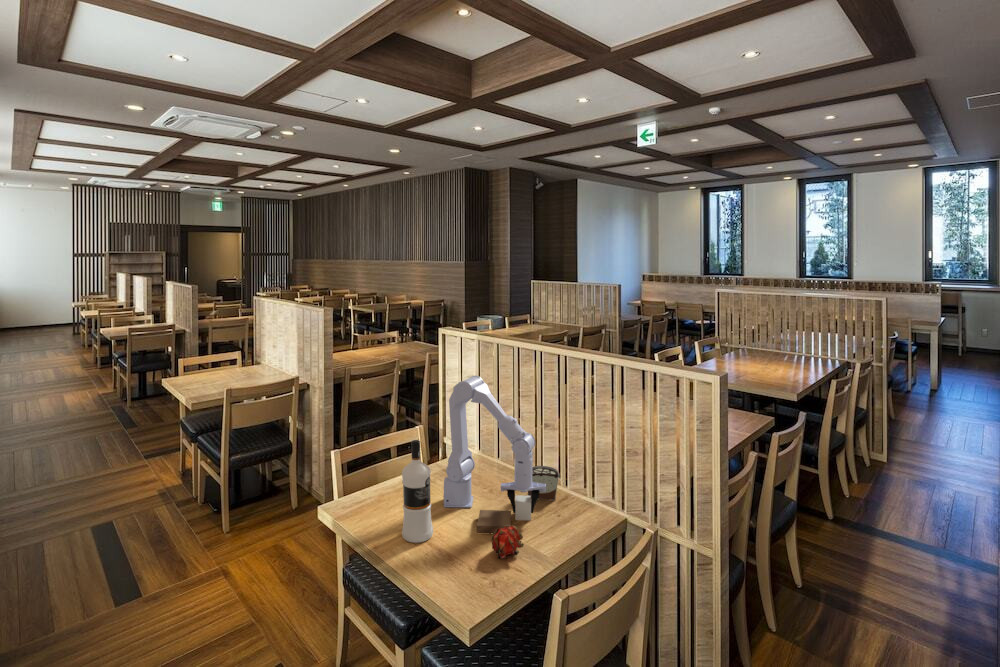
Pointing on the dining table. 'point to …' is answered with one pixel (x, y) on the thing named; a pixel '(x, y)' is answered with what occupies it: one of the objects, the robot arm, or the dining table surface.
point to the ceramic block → (522, 507)
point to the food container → (545, 481)
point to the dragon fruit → (507, 541)
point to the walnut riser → (493, 520)
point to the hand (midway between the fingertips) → (523, 511)
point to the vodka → (416, 499)
